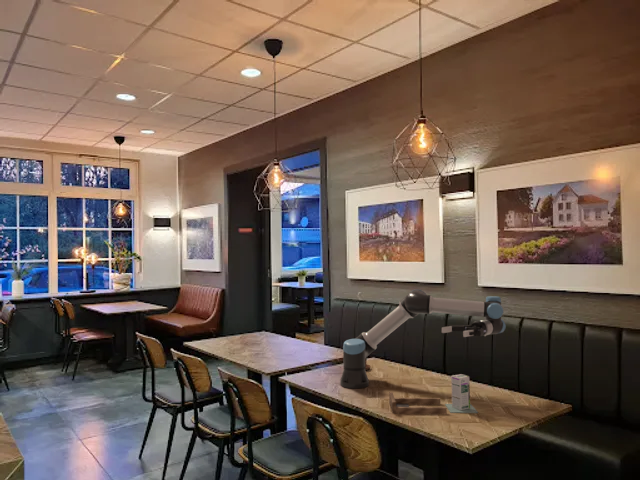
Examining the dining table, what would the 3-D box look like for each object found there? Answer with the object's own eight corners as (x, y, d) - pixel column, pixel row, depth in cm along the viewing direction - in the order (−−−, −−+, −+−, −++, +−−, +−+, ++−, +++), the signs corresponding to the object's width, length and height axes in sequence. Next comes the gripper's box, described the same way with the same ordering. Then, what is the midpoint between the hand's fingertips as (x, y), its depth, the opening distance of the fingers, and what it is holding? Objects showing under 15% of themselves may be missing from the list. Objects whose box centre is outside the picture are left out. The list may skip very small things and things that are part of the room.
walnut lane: (392, 413, 217) (392, 402, 217) (389, 403, 232) (389, 392, 232) (446, 414, 216) (446, 402, 216) (439, 403, 231) (439, 392, 231)
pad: (450, 412, 217) (450, 412, 217) (444, 404, 229) (444, 403, 229) (478, 413, 217) (478, 412, 217) (471, 404, 229) (471, 404, 229)
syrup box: (461, 410, 219) (460, 377, 220) (451, 407, 224) (451, 375, 225) (470, 408, 222) (470, 376, 222) (460, 405, 227) (460, 373, 228)
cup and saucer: (369, 372, 293) (369, 361, 293) (349, 371, 295) (349, 360, 295) (371, 367, 304) (371, 357, 304) (352, 366, 307) (351, 356, 307)
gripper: (502, 339, 242) (473, 343, 230) (462, 332, 263) (433, 336, 251) (502, 323, 242) (473, 327, 231) (462, 318, 263) (433, 321, 251)
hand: (452, 332), depth 241 cm, fingers open, 13 cm apart
